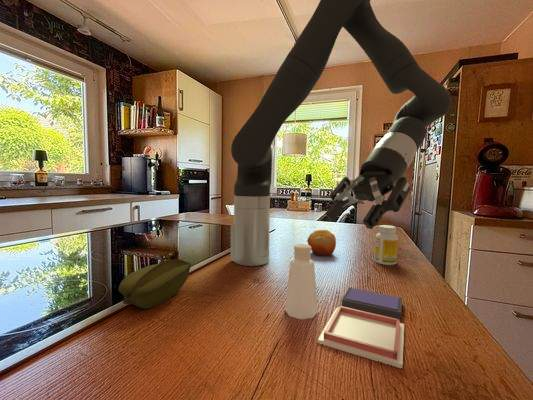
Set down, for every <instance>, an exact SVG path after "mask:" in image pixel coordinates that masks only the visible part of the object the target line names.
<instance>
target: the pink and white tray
mask: <svg viewBox="0 0 533 400" xmlns="http://www.w3.org/2000/svg"><path fill="white" fill-rule="evenodd" d="M404 333H405V323H401V320H400V319H395V318H391V317H387V316H382V315H378V314H374V313H369V312H365V311H360V310H356V309H352V308H347V307H343V306H342V305H339V306H337V307H336V308H335V310H334V311H333V313H332V314H331V316H330V318H329V320H328V322H327V323H326V325H325V326H324V328H323V330H322V332H321V334H320V335H319V337H318V339H317V344H319V343H320V344H319V345H322V344H323V346H325V347H329V348H333V349H336V350H339V351H342V352H345V353H349V354H352V355H355V356H359V357H362V358H366V359H368V360H372V361H375V362H378V361H379V362H378V363H381V362H382V364H386V365H388V364H389V366H391V365H392V367H394V366H395V368H399V369H401V368H402V369H403V364H404V363H403V360H404V359H403V358H404V336H405V334H404Z"/></svg>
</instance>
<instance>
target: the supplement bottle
mask: <svg viewBox="0 0 533 400" xmlns="http://www.w3.org/2000/svg"><path fill="white" fill-rule="evenodd" d="M396 230H397V228H396V226H395V225H390V224H381V225H379V226H378V231H379V232H378V233H376V235H375V239H374V240H375V241H374V256H373V257H374V261H375V263H377V264H380V265H384V266H385V265H387V266H394V265H396V264H397V262H398V261H397V259H398V246H399V245H398V244H399V243H398V242H399V237H398V235H397V234H395V233H396Z"/></svg>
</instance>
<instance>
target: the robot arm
mask: <svg viewBox="0 0 533 400" xmlns="http://www.w3.org/2000/svg"><path fill="white" fill-rule="evenodd" d="M342 28H344V30H345V31H346V32H347V33H348V34H349V35H350V36H351V37H352V39H353V40H354V41H356V43H357V44H358V45H359V47H360V48H361V49H362V50H363V51H364V54H366V56H367V57H368V59H369V60H370V61H371V63H372V65H373V67H374V68H375V69H376V71H377V73H378V75H379V76H380V78H381V80H383V82H384V84H385V85H386V87H387V89H388V90H389V92H391V93H392V94H393V95H398V94H401V93H403V92H406V91H407V90H409V92H411V93H413V95H414V96H412V98H410V99H409V100H407V101H406V102H405V103H404V104H403V105H402V106H401V107H400V109H399V110H398V111H397V113H396V114H395V117H394V118H393V119H394V120H393V122H392V125H391V126H390V127H389V129H388V130H387V131H386V133H385V134H384V136H383V137H382V138H381V139H380V140H379V141H378V142H377V144H376V145H375V146H374V147H373V149H372V150H371V152H370V153H369V155H368V156H367V157H366V159H365V160H364V161H363V163H362V164H361V166H360V169H359V175H358V176H357V177H355V178H354V179H350V178H349V177H348V176H344V177H343V178H342V179H341V180H340V182H339V183H338V184H337V185H336V187H335V188H334V189H333V190H332V192H330V194H329V195H328V196H329V198H330V199H331V201H332V204H331V205H330V207H329V208H328V209H327V211H326V217H327V219H328V220H329V222H336V220H337V219H338V218H339V216H340V215H341V214H342V211H344V208H346V207H347V206H349V205H351V204H352V205H353V204H356V203H357V202H360V201H361V202H362V201H367V202H375V204H372V205H371V207H370V208H369V210H368V212H367V214H366V215H365V216H364V218H363V220H362V222H363V224H364V226H365V227H366V229H368V230H373V228H375V227H376V226H377V225H378V224H379V222H380V221H381V219H382V218H383V216H384V215H385V214H387V213H388V212H391V211H392V212H393V213H397V212H399V211H400V210H401V208H402V207H403V204H404V202H405V201H406V199H407V198H408V197H407V196H408V195H409V193H410V191H411V185H410V183H409V182H408V180H407V178H406V177H405V176H404V175H405V173H407V170H408V169H409V167H410V165H411V163H412V162H413V160H414V159H415V156H416V153H417V152H418V150H419V149H420V147H421V145H422V144H423V143H424V140H425V139H426V137H427V127H428V126H430V125H432V123H434V122H436V121H438V120H439V119H441V118H442V117H444V116H446V115H447V114H448V113H449V111H450V110H451V108H452V103H453V102H452V101H453V100H452V96H451V94H450V92H449V90H448V89H447V88H446V87H445V86H444V85H442V84H441V83H440V82H439V81H437V80H436V79H435V78H433V77H432V76H431V75H430V74H428V73H427V72H426V71H425V70H423V69H422V68H421V67H420V65H419V63H418V62H417V61H416V59H415V57H414V56H413V54H412V53H411V51H410V50H409V48H408V46H406V45H405V43H404V42H403V41H402V40H401V39H399V38H398V37H397V36H396V35H394V34H393V33H391V32H390V31H388V30H387V29H386V28H385V27H384V26H383V25H382V24H381V23H380V21H379V20H378V18H377V16H376V15H375V12H374V10H373V8H372V5H371V0H319V2H318V4H317V7H316V9H315V10H314V12H313V13H312V16H311V17H310V19H309V20H308V22H307V24H306V25H305V27H304V28H303V29H302V32H301V33H300V35H299V36H298V38H297V39H296V41H295V43H294V44H293V46H292V48H291V49H290V51H289V52H288V54H287V55H286V57H285V59H284V60H283V61H282V63H281V65H280V66H279V67H278V70H277V72H276V74H275V75H274V77H273V79H272V81H271V82H270V84H269V86H268V87H267V88H266V90H265V93H264V94H263V97H262V98H261V100H260V102H259V103H258V105H257V107H256V108H255V109H254V111H253V113H252V114H251V115H250V117H249V118H248V119H247V120H246V122H245V123H244V124H243V126H242V127H241V128H240V130H239V131H238V132H237V134H235V136H234V138H233V140H232V142H231V148H230V152H231V157H232V159H233V161H234V162H235V163H236V164H237V173H236V174H237V176H236V180H235V183H234V185H233V186H234V187H233V217H234V218H233V223H232V224H231V225H230V261H231V262H234V264H236V265H240V266H244V267H245V266H246V267H247V266H248V267H257V266H261V265H266V264H268V263H269V262H270V222H271V217H270V215H271V214H270V213H271V210H270V209H271V185H272V170H273V168H272V167H273V149H272V144H273V142H274V140H275V139H276V136H277V134H278V133H279V131H280V129H281V128H282V126H283V124H284V123H285V122H286V120H288V118H289V117H290V116H292V114H293V113H294V112H295V111H296V110H297V109H298V108H299V107H300V106H301V105H302V104H303V103H304V101H305V100H306V99H307V98H308V96H309V95H310V94H311V92H312V91H313V89H314V87H315V86H316V84H317V83H318V81H319V80H320V78H321V76H322V74H323V73H324V71H325V69H326V67H327V64H328V62H329V59H330V56H331V54H332V52H333V49H334V46H335V43H336V40H337V39H338V36H339V34H340V32H341V30H342ZM352 191H353V194H354V196H352V194H351V192H352ZM388 193H390V194H389V195H388V197H387V198H386V195H387V194H388ZM344 198H347V199H345V200H343V199H344Z"/></svg>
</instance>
